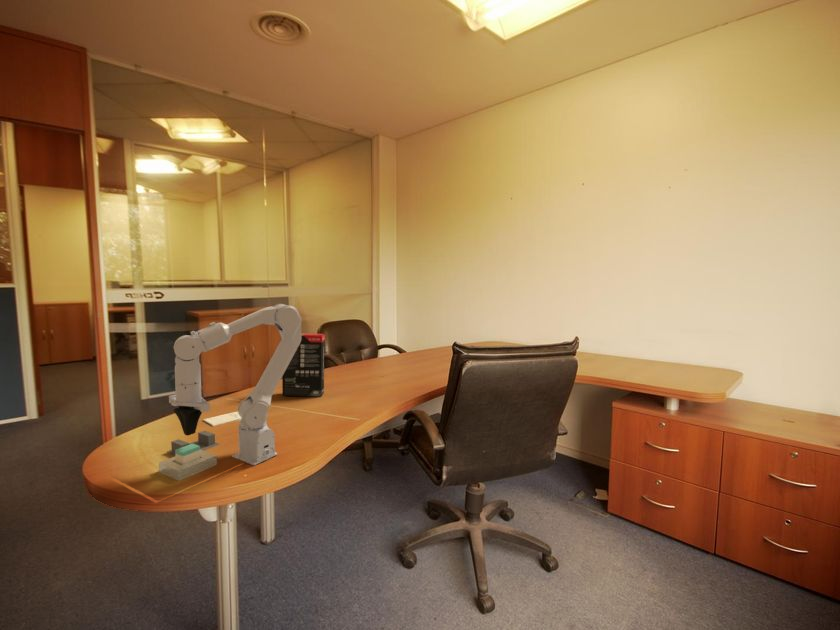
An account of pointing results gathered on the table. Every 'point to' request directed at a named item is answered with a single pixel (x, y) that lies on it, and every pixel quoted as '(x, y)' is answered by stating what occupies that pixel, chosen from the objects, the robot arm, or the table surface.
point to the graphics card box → (306, 368)
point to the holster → (196, 442)
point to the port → (187, 466)
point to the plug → (187, 454)
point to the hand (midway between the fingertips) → (189, 433)
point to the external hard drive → (223, 419)
